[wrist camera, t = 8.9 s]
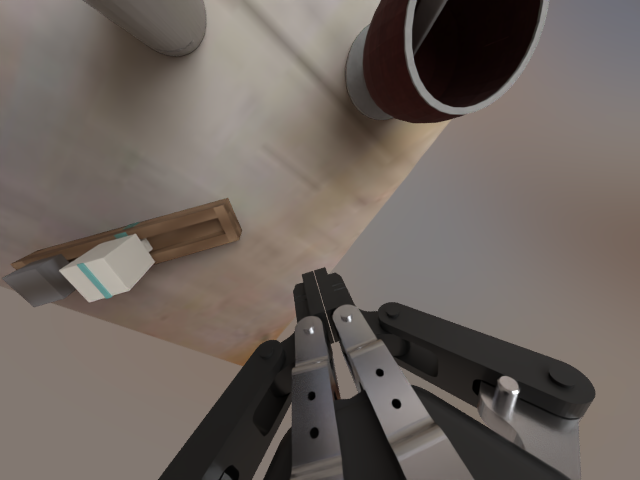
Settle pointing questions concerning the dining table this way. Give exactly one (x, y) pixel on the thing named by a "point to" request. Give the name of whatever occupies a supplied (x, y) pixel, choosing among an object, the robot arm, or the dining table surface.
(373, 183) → the dining table surface
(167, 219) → the beam
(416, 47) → the mate gourd
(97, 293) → the block
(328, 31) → the dining table surface
